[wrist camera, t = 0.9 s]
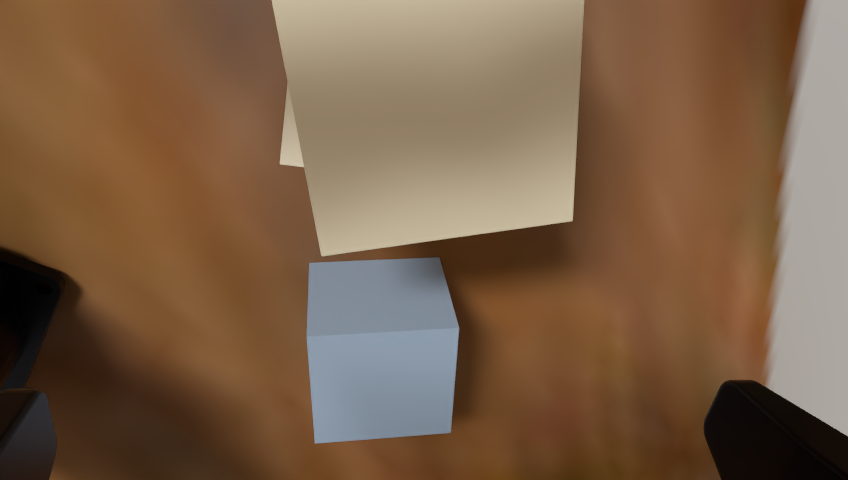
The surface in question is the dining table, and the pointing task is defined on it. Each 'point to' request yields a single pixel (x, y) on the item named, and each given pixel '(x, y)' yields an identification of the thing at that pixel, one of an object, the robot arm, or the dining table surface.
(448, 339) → the blue block
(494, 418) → the dining table surface
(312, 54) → the tower top
